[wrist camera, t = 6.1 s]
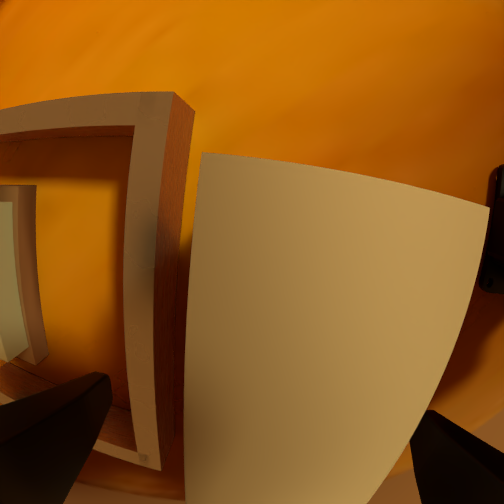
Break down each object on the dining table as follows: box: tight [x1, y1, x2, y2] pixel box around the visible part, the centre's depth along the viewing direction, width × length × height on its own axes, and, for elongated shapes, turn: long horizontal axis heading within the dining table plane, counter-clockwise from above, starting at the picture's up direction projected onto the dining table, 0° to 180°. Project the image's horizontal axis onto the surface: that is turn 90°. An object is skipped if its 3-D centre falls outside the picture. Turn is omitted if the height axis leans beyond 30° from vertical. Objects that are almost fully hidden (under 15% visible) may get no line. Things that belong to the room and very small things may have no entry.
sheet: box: [184, 152, 490, 504], centre depth 9 cm, size 3×12×10 cm, turn 173°
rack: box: [0, 92, 195, 471], centre depth 12 cm, size 13×17×3 cm
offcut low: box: [0, 185, 49, 365], centre depth 14 cm, size 4×10×2 cm, turn 173°
